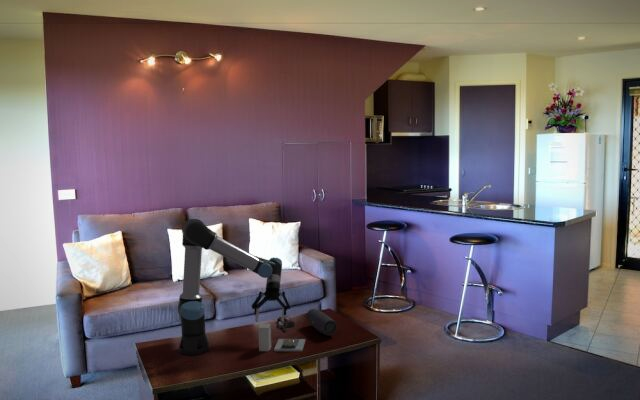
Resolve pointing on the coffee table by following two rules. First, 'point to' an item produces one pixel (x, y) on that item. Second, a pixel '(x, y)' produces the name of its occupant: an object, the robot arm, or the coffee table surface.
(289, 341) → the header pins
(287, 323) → the walkie-talkie
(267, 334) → the plug block
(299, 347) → the board
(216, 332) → the coffee table surface
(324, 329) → the bluetooth speaker
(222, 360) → the coffee table surface
